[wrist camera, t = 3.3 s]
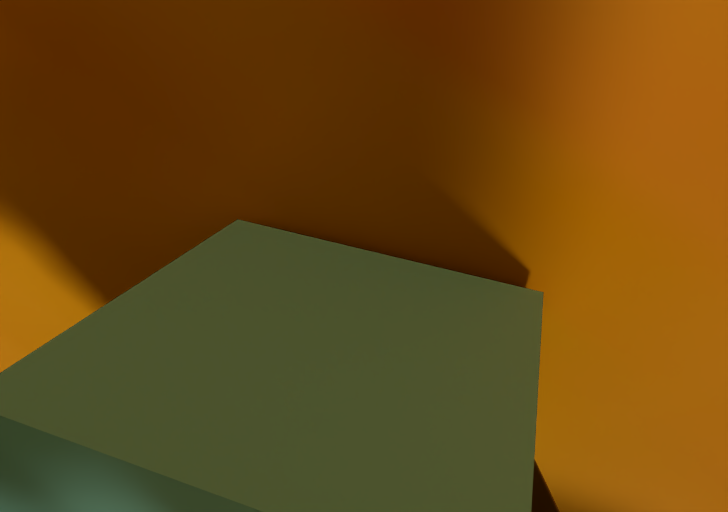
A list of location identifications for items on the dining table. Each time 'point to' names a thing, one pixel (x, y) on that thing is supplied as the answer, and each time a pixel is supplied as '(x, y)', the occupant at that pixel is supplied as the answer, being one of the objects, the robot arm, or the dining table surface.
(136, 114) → the dining table surface
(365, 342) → the teal block
